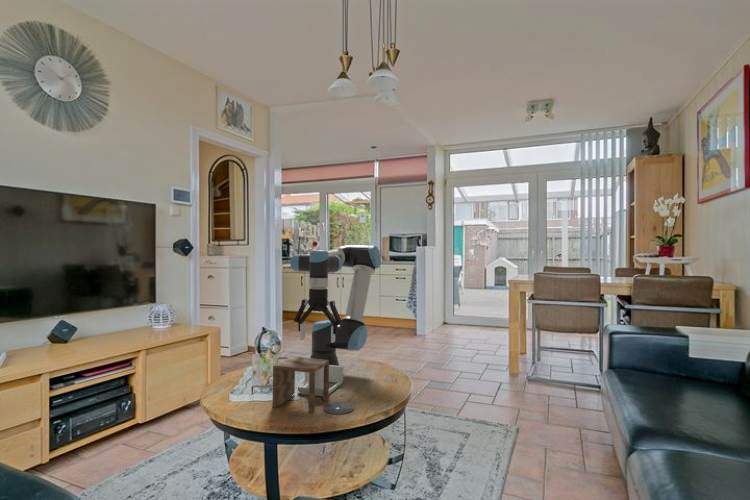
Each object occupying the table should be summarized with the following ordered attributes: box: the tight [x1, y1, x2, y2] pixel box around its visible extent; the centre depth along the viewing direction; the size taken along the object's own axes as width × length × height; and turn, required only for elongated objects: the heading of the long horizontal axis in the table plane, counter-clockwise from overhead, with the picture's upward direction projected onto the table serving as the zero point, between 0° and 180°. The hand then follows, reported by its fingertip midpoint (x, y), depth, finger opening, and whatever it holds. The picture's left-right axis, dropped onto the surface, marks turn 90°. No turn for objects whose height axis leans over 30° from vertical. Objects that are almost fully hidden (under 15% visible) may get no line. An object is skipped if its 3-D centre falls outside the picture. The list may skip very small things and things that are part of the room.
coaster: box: [323, 401, 355, 415], centre depth 150 cm, size 11×11×1 cm
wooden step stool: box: [271, 355, 330, 414], centre depth 155 cm, size 14×16×15 cm
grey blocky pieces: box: [297, 365, 344, 397], centre depth 172 cm, size 20×12×7 cm, turn 163°
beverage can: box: [307, 367, 324, 389], centre depth 168 cm, size 8×8×12 cm
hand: (317, 340), depth 168 cm, fingers open, 13 cm apart
